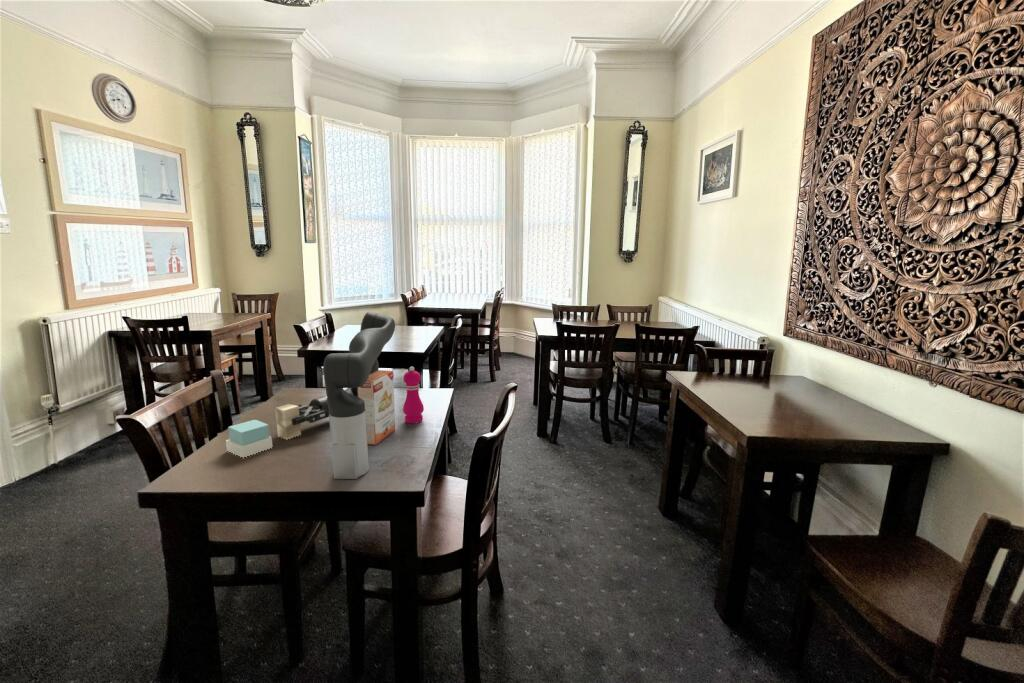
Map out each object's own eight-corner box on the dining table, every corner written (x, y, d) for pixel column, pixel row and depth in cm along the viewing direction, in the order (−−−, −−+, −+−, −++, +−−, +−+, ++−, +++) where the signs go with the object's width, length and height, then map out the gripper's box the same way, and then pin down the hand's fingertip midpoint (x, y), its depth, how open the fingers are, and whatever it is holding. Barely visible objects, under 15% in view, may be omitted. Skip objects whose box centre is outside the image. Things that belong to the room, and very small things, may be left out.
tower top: (269, 437, 144) (268, 424, 143) (242, 445, 137) (241, 432, 137) (256, 431, 148) (255, 419, 148) (229, 439, 142) (228, 426, 141)
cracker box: (377, 446, 146) (373, 381, 142) (359, 444, 147) (355, 380, 144) (397, 429, 160) (394, 370, 156) (380, 428, 161) (377, 369, 157)
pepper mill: (399, 420, 168) (397, 366, 164) (416, 415, 173) (414, 363, 169) (410, 425, 163) (408, 370, 159) (428, 420, 168) (426, 366, 164)
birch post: (301, 435, 155) (298, 406, 153) (287, 440, 151) (284, 410, 149) (291, 432, 158) (289, 403, 156) (277, 437, 153) (275, 407, 152)
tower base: (272, 448, 145) (271, 436, 144) (243, 459, 137) (242, 446, 137) (256, 442, 150) (255, 430, 149) (227, 452, 142) (225, 440, 141)
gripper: (313, 392, 169) (270, 405, 155) (339, 399, 161) (297, 412, 148) (315, 412, 170) (272, 426, 156) (341, 420, 163) (299, 435, 149)
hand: (284, 419), depth 152 cm, fingers open, 8 cm apart
